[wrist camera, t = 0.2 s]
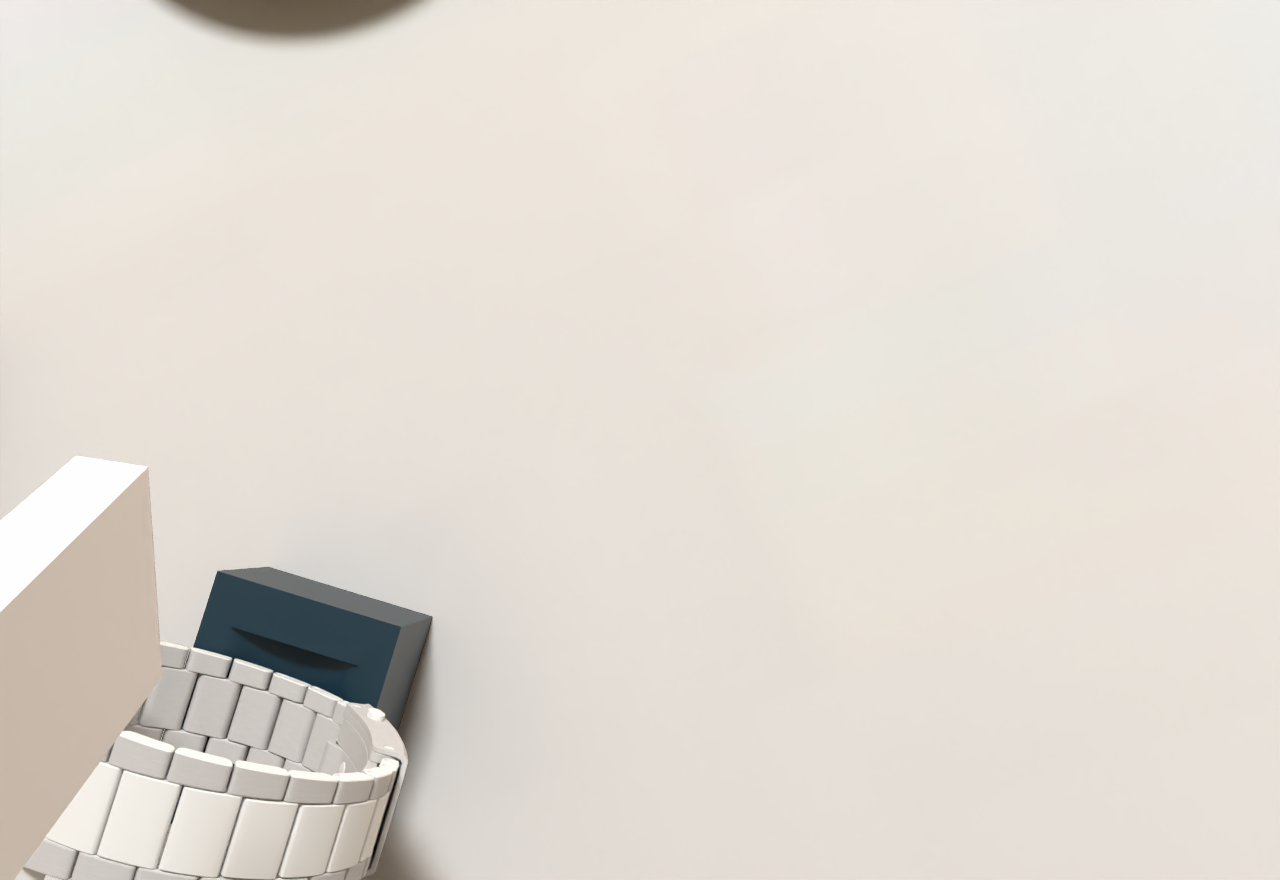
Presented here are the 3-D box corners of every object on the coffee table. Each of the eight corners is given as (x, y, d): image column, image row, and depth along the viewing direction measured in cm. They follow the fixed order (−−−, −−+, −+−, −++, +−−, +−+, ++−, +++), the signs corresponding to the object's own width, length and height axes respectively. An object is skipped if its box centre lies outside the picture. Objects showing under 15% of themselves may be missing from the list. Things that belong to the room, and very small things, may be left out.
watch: (194, 544, 29) (-109, 551, 18) (500, 637, 28) (383, 703, 17) (124, 763, 28) (-229, 908, 17) (433, 860, 28) (269, 1073, 17)
